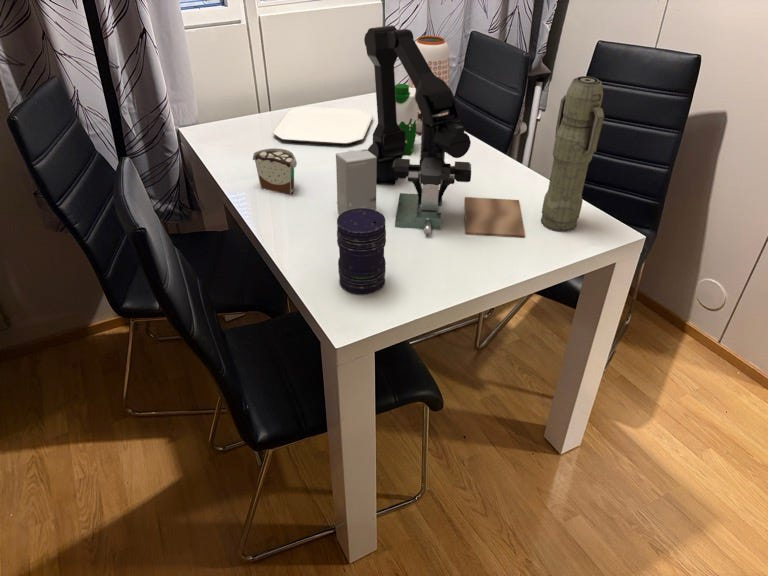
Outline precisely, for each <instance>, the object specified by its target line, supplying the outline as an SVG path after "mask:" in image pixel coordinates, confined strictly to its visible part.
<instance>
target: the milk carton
mask: <svg viewBox="0 0 768 576" xmlns="http://www.w3.org/2000/svg"><path fill="white" fill-rule="evenodd" d="M415 93H416V89H415V88H411V87H409V86H408V84H406V83H397V84H395V95H396V115H397V124H398V126H399V127H400V128H401V130H404V132H405V143H406V146H405V151H404V154H403V156H411V155H412V152H413V149H414V147H415V143H416V136H417V133H416V130H417V102H416V100H415Z"/></svg>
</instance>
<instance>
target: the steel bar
mask: <svg viewBox="0 0 768 576" xmlns="http://www.w3.org/2000/svg"><path fill="white" fill-rule="evenodd" d="M439 189H440V185H433V184H427V185H424V184H422V198H421V205H420V211H421V212H438V207H439V206H438V194H439Z"/></svg>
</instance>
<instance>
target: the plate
mask: <svg viewBox="0 0 768 576" xmlns="http://www.w3.org/2000/svg"><path fill="white" fill-rule="evenodd" d="M373 117H374V116H373V114H372V113H369V112H367V111H365V110H363V109H353V108H339V107H338V108H335V107H322V106H321V107H320V106H318V107H317V106H302V107H297V108H293V109H289V110H288V112H287V113H286V115H285V116H284V117H283V118H282V120H280V122H279V123H278V125H277V126H276V128H275V129H274V131H273V132H272V135H274V136H276V137H277V138H278V139H279V140H281V141H287V142H292V141H295V143H306V142H310V144H322V143H326V145H337V144H342V145H341V146H345V145H349V144H353V143H356V142H359V141H363V140H364V138H365V136H366V134H367V131H368V130H369V127H370V124H371V123H372V120H373ZM344 144H345V145H344Z"/></svg>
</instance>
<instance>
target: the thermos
mask: <svg viewBox="0 0 768 576" xmlns="http://www.w3.org/2000/svg"><path fill="white" fill-rule="evenodd" d="M603 97H604V90H603V81H601V80H599V79H598V78H596V77H594V76H586V75H583V76H577V77H575V78H573V79H572V81H571V83H570V84H569V87H568V89H567V91H566V94H564V96H563V97H562V98H561V99H560V104H559V109H558V115H557V121H556V127H555V137H554V138H555V139H554V140H555V141H554V144H553V150H552V156H553V161H552V167H551V173H550V178H549V182H548V183H549V185H548V189H547V191H546V193H545V194H544V198H543V203H542V209H541V219H540V223H541V225H542V224H543V225H542V226H543V227H544V228H546V229H548V230H551V231H553V232H557V233H559V232H561V233H566V232H567V233H568V232H571V230H572V231H574V230H575V229H576V228H577V224H578V220H579V218H580V216H581V215H580V214H581V211H582V204H583V195H582V194H583V191H584V186H585V185H584V184H585V183H586V182H585V181H586V177H587V172H588V168H589V164H590V162H591V161H592V160H593V155H594V153H596V152H597V149H598V148H597V147H598V142H599V139H600V134H601V131H602V127H603V123H604V120H605V114H604V108H602V107H601V106H602V102H603Z"/></svg>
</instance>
